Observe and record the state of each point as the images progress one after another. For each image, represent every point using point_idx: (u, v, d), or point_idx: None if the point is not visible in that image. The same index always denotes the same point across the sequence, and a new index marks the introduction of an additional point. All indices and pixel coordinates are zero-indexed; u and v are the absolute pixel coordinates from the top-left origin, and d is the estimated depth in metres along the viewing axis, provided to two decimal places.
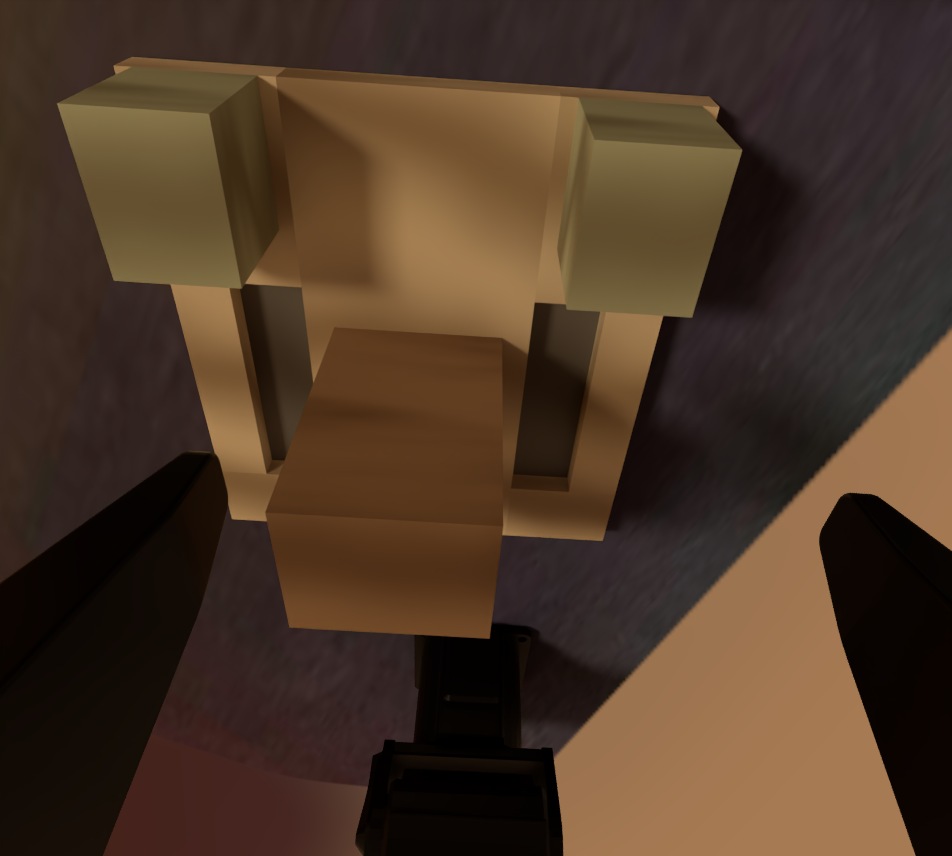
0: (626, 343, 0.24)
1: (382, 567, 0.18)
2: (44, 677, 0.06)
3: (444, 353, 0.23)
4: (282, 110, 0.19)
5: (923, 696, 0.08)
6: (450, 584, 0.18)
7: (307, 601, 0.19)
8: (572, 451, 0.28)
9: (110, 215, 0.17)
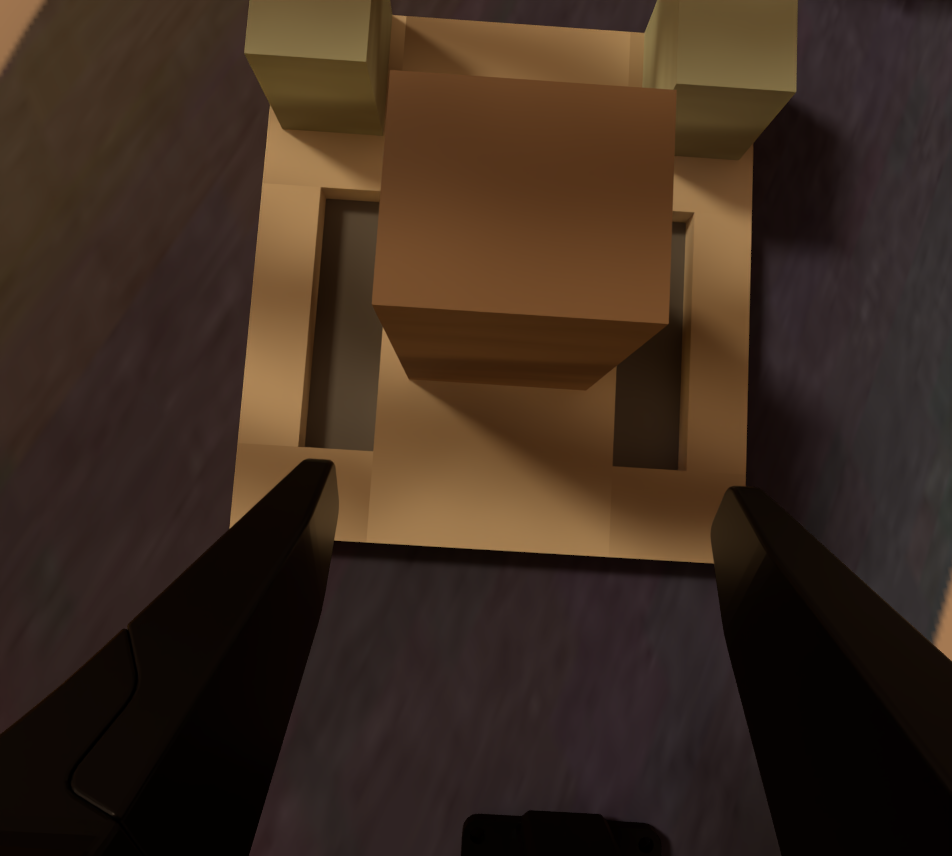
0: (721, 253, 0.23)
1: (522, 167, 0.14)
2: (221, 687, 0.06)
3: None
4: (406, 40, 0.23)
5: (784, 687, 0.08)
6: (611, 200, 0.14)
7: (410, 242, 0.13)
8: (679, 425, 0.23)
9: None
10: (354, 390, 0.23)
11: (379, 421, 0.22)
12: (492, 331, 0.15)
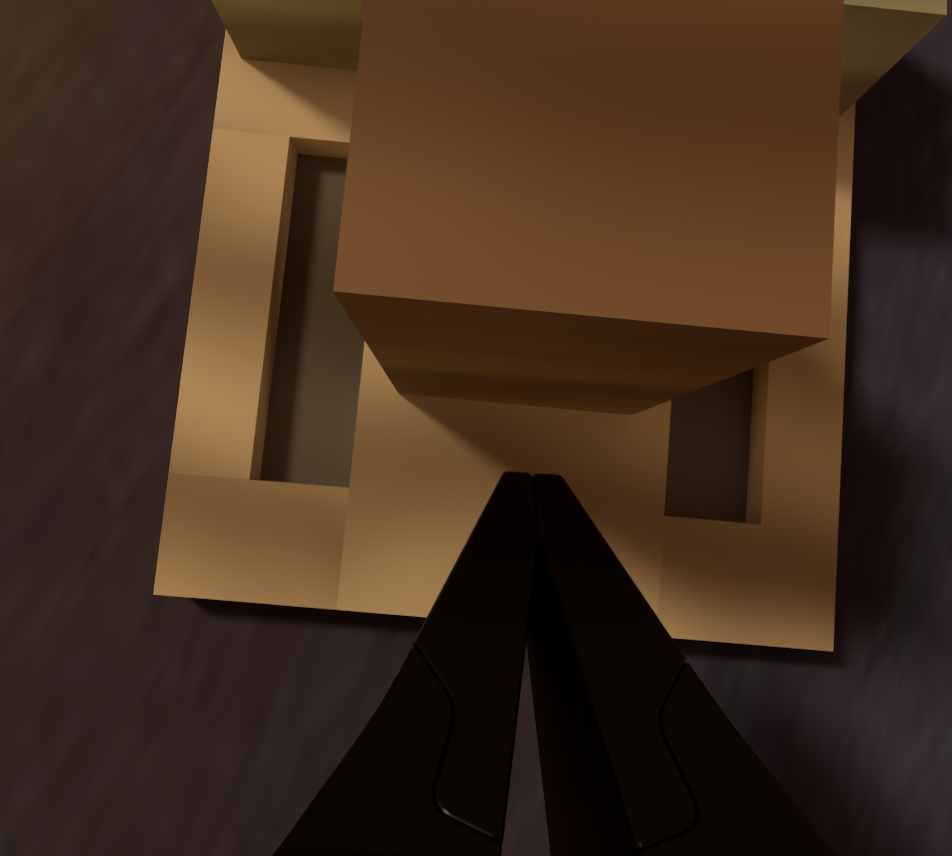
0: None
1: (591, 71, 0.08)
2: None
3: None
4: None
5: (548, 673, 0.08)
6: (737, 129, 0.08)
7: (402, 189, 0.08)
8: (749, 462, 0.18)
9: None
10: (328, 405, 0.18)
11: (358, 448, 0.17)
12: (527, 340, 0.10)
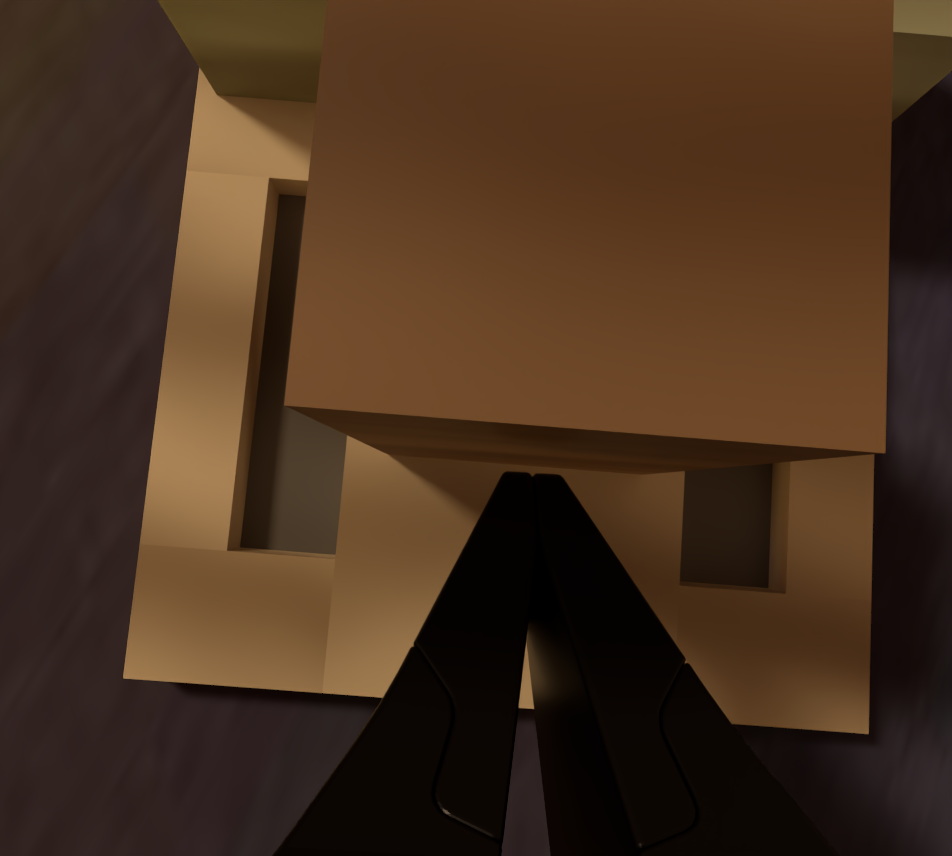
0: None
1: (592, 133, 0.07)
2: None
3: None
4: None
5: (548, 673, 0.08)
6: (768, 201, 0.07)
7: (365, 279, 0.07)
8: (771, 522, 0.16)
9: None
10: (313, 466, 0.16)
11: (344, 515, 0.15)
12: (521, 438, 0.08)
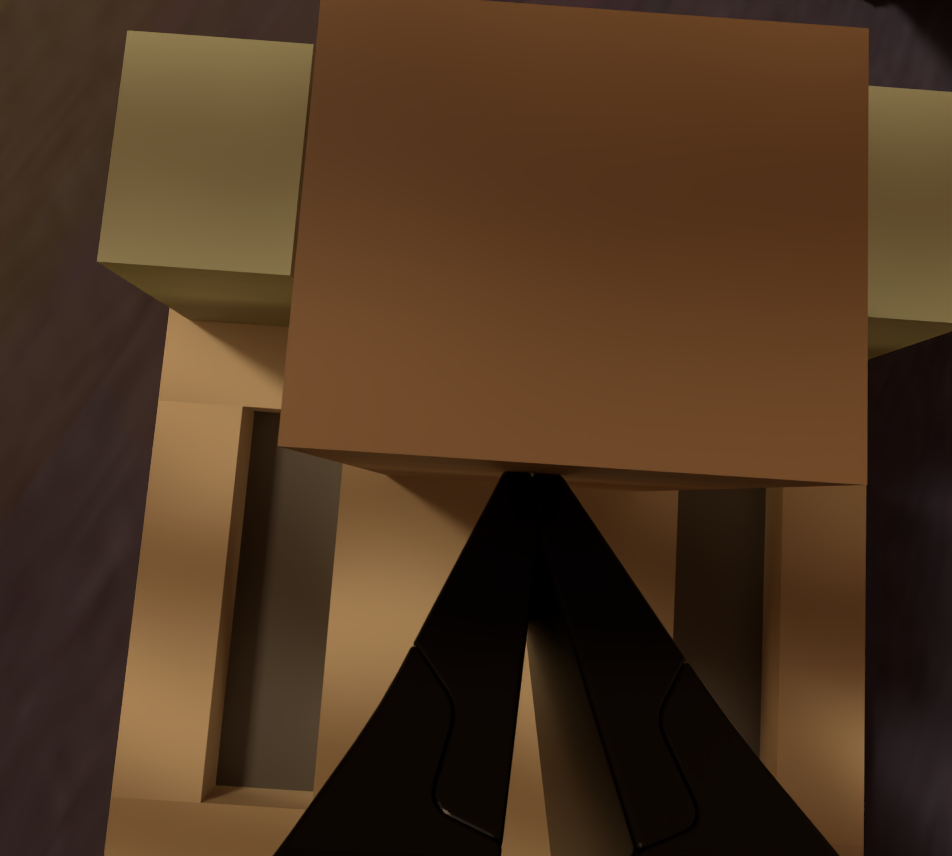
0: (822, 505, 0.16)
1: (575, 174, 0.07)
2: None
3: None
4: None
5: (548, 673, 0.08)
6: (750, 239, 0.07)
7: (356, 321, 0.07)
8: (760, 751, 0.16)
9: (134, 164, 0.12)
10: (290, 697, 0.16)
11: (321, 764, 0.15)
12: (512, 468, 0.08)
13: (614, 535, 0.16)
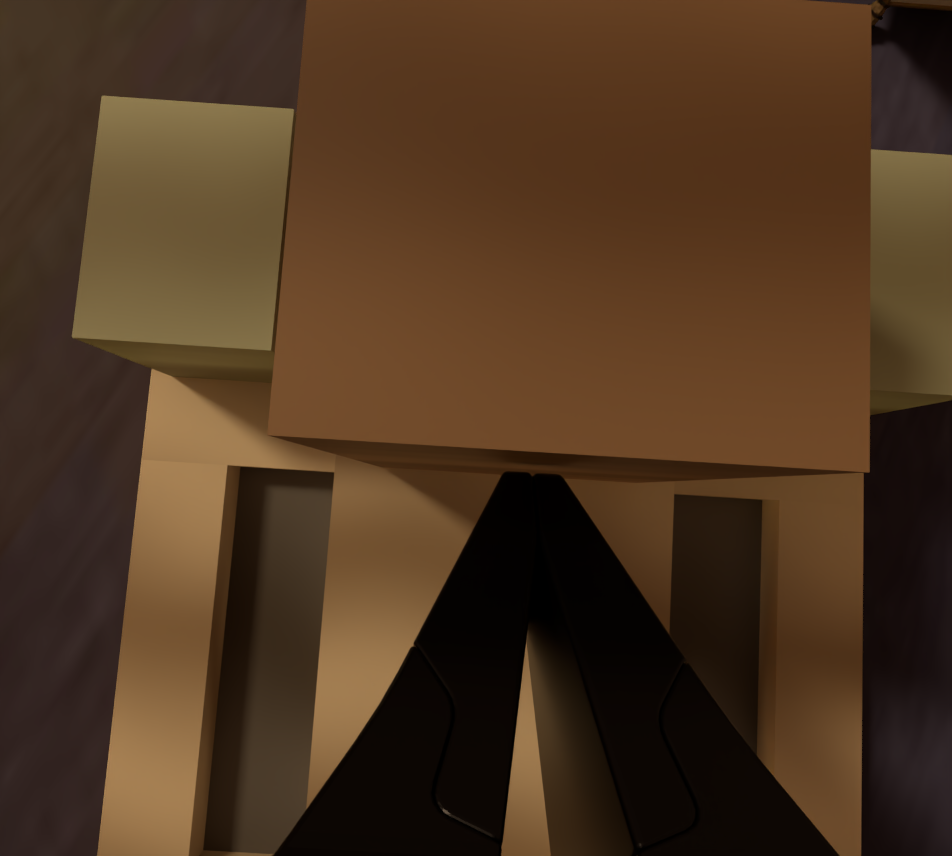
0: (819, 563, 0.15)
1: (571, 156, 0.07)
2: None
3: None
4: None
5: (548, 673, 0.08)
6: (750, 222, 0.07)
7: (346, 306, 0.07)
8: None
9: (110, 235, 0.12)
10: (278, 760, 0.16)
11: None
12: (508, 458, 0.08)
13: None
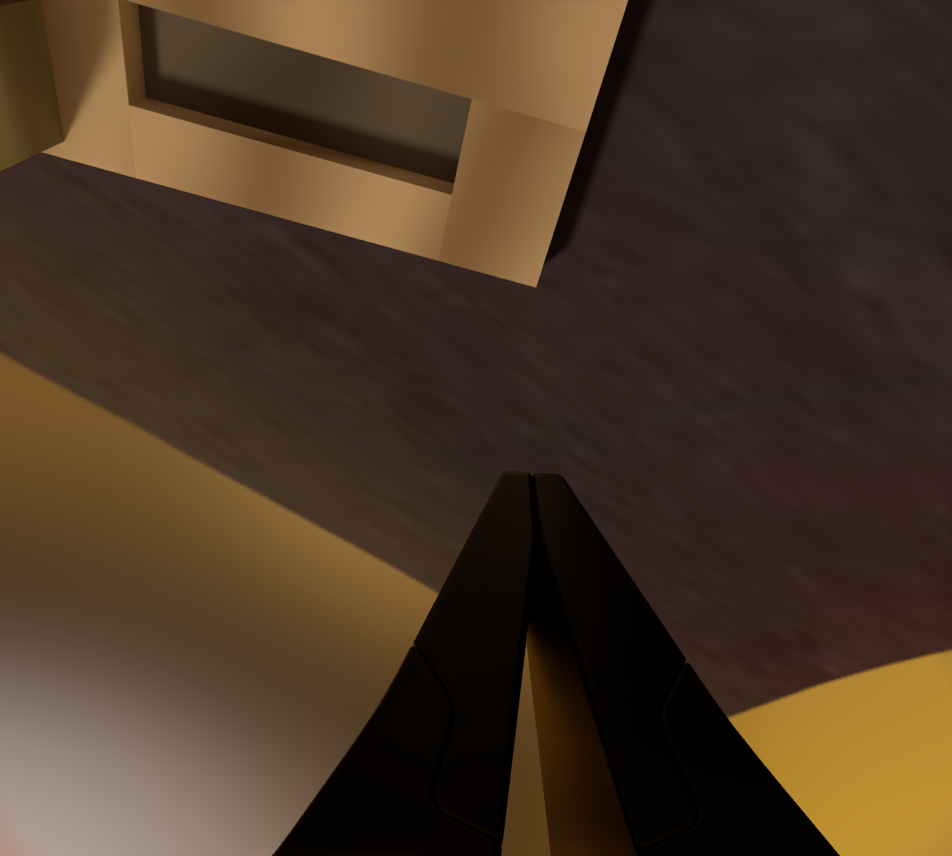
0: None
1: None
2: None
3: None
4: None
5: (548, 673, 0.08)
6: None
7: None
8: None
9: None
10: (392, 106, 0.18)
11: (433, 82, 0.16)
12: None
13: None
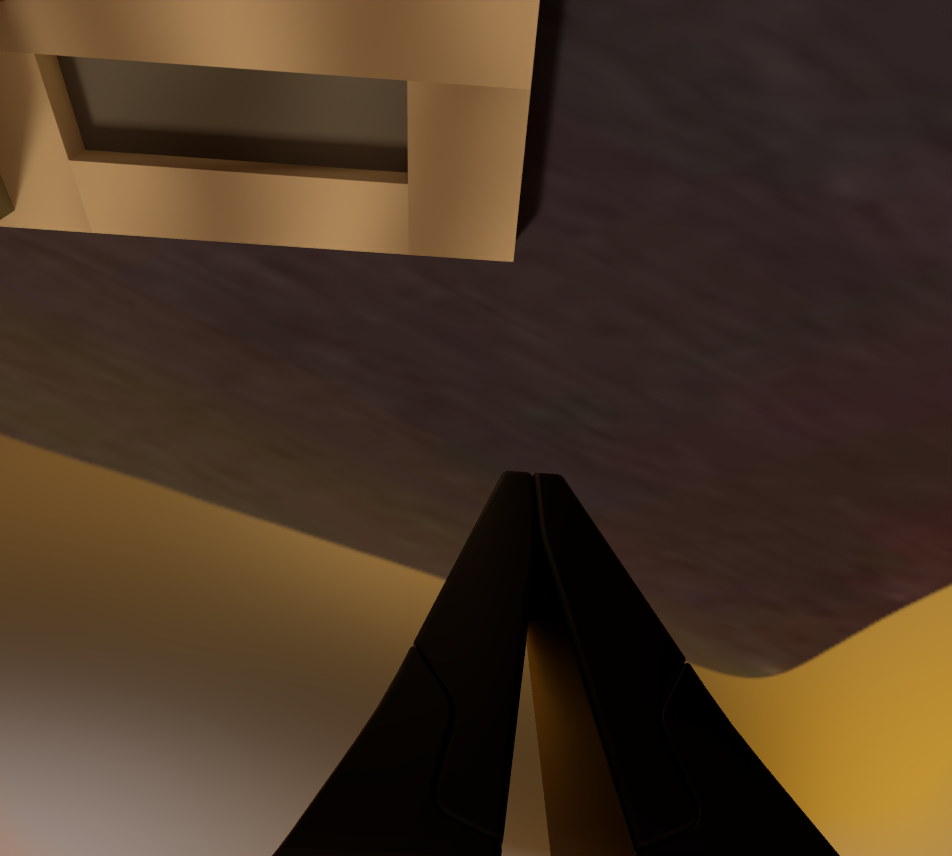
0: None
1: None
2: None
3: None
4: None
5: (548, 673, 0.08)
6: None
7: None
8: None
9: None
10: (330, 106, 0.17)
11: (365, 71, 0.16)
12: None
13: None
